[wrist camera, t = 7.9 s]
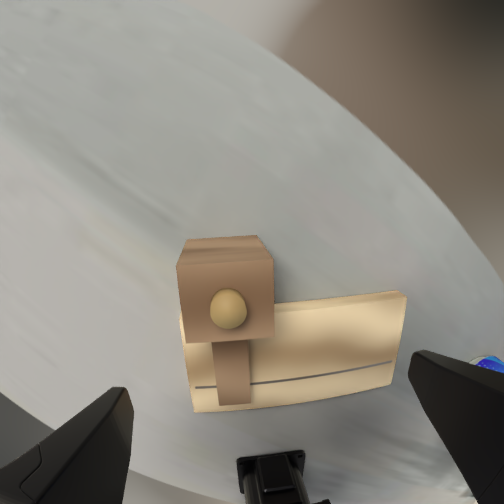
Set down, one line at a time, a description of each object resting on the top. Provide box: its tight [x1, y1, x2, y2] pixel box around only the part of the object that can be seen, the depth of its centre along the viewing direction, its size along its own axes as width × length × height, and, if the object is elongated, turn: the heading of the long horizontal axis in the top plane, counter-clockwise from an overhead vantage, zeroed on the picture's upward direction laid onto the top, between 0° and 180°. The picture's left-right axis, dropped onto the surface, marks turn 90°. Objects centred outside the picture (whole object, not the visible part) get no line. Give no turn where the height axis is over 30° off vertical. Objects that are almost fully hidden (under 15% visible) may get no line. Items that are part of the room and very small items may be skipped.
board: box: [179, 290, 407, 413], centre depth 22 cm, size 8×16×2 cm, turn 92°
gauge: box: [176, 235, 275, 406], centre depth 18 cm, size 11×4×7 cm, turn 2°
